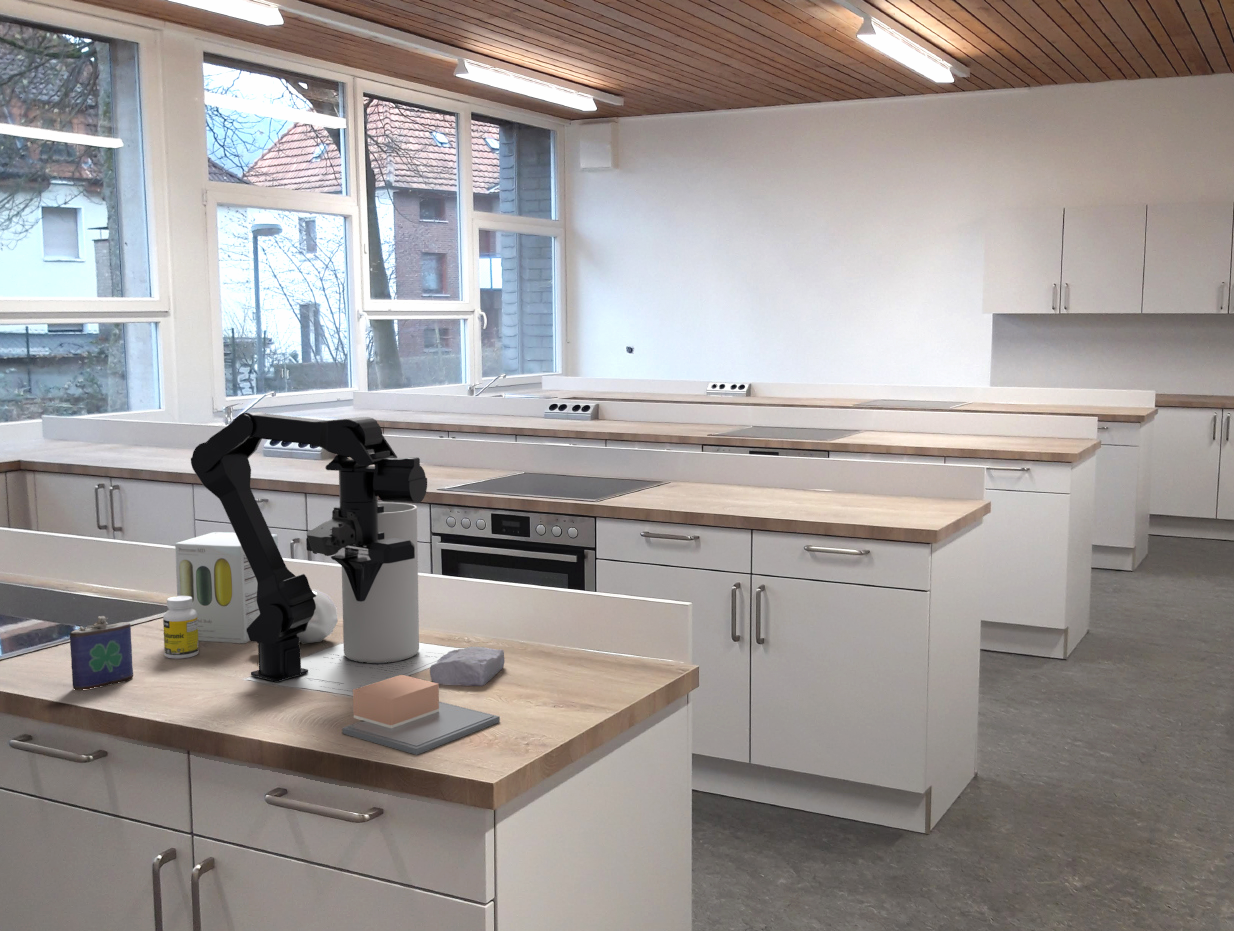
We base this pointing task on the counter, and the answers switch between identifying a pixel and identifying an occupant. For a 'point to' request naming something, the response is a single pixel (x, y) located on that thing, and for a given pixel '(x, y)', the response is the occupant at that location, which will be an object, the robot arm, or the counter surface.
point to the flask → (101, 654)
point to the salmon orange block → (395, 701)
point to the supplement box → (218, 585)
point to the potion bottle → (320, 619)
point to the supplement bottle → (180, 628)
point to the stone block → (467, 666)
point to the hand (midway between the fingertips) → (360, 601)
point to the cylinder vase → (386, 599)
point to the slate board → (425, 729)
